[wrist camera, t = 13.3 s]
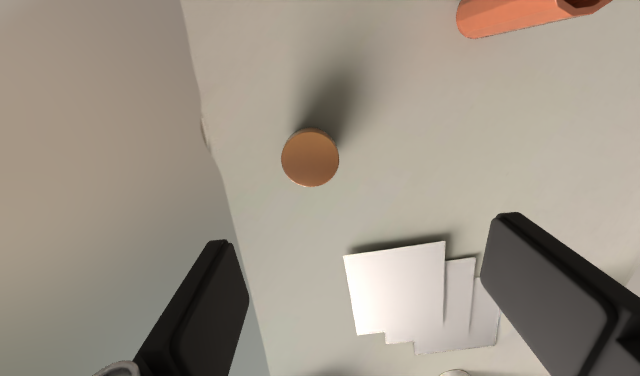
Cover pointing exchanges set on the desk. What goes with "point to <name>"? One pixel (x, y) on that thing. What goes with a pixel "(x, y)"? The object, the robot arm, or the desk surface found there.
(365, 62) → the desk surface
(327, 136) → the oak chip
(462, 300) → the paper stack
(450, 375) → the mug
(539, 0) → the terracotta cup
